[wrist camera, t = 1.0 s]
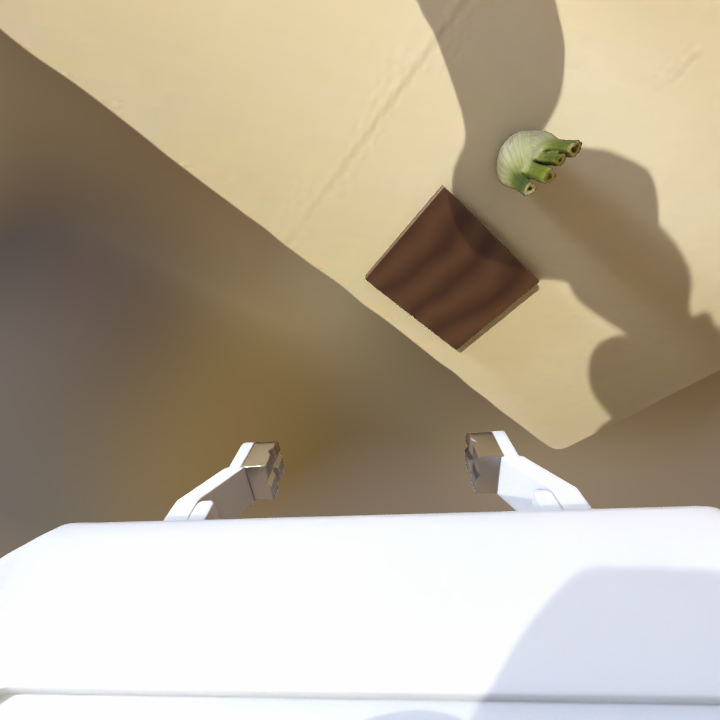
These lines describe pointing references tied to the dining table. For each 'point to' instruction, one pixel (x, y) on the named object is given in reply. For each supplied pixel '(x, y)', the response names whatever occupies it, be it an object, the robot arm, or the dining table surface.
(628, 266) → the dining table surface
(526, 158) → the fennel bulb
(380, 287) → the cutting board
